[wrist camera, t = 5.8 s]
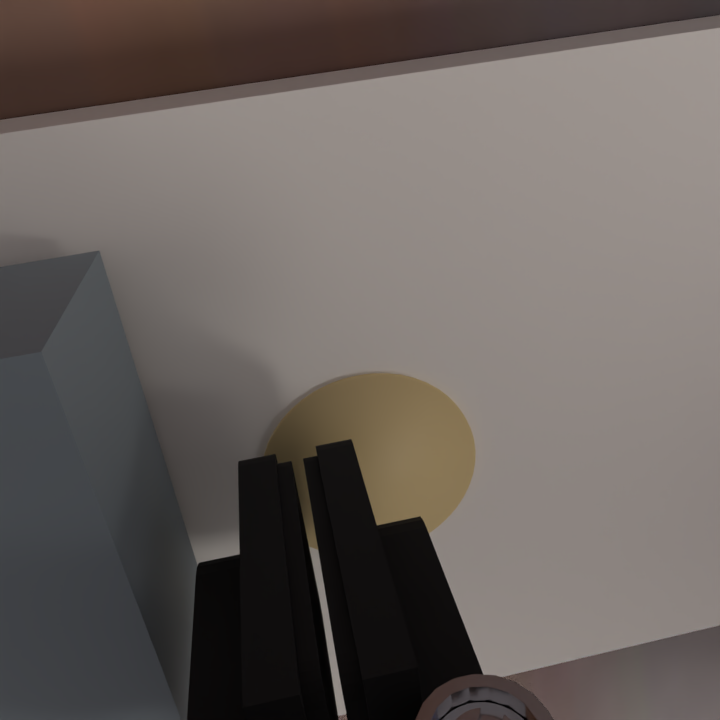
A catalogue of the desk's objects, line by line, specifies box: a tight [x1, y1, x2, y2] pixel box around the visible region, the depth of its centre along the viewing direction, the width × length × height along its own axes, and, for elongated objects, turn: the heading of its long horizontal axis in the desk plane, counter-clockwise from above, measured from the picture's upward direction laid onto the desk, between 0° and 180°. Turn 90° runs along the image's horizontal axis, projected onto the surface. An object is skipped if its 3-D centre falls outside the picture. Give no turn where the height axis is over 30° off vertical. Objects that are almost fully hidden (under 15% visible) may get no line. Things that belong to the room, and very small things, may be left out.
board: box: [0, 15, 720, 716], centre depth 13 cm, size 24×12×2 cm, turn 97°
